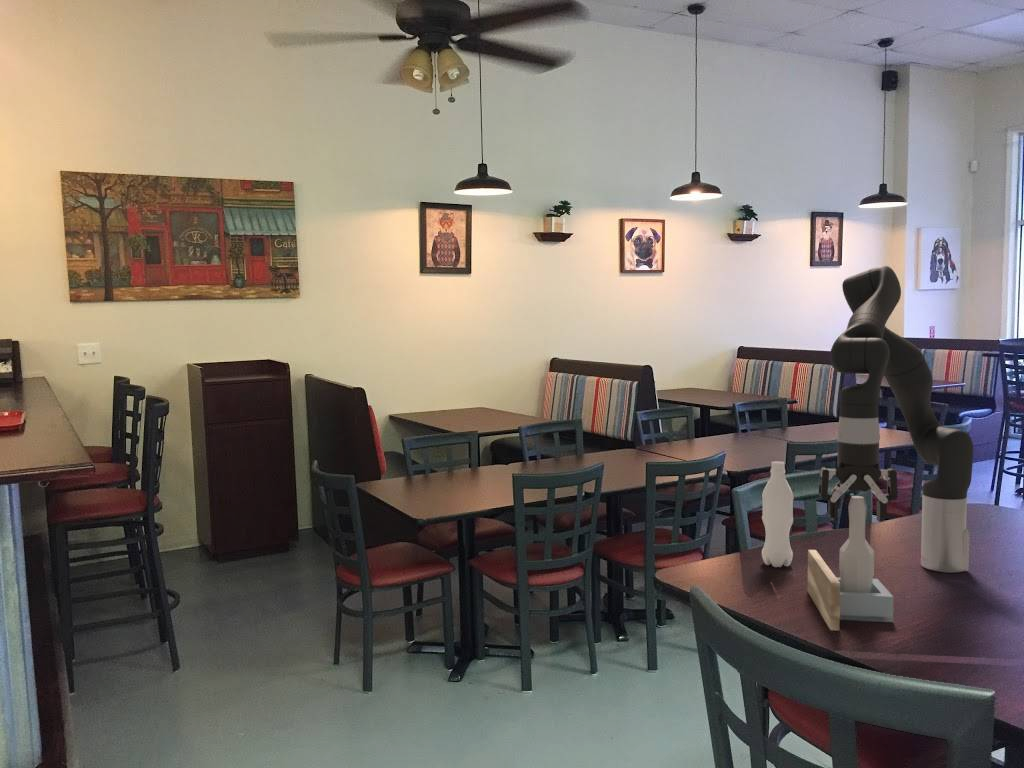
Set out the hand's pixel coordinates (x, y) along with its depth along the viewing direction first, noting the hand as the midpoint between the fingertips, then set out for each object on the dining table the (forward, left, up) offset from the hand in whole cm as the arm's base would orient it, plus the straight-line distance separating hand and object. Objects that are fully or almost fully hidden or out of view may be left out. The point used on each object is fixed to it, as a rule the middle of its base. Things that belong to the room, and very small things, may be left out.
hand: (857, 520), depth 160 cm
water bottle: (+10, -33, -19) cm, 40 cm away
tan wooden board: (-4, 0, -19) cm, 20 cm away
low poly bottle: (0, 0, -18) cm, 18 cm away
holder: (0, 0, -18) cm, 18 cm away
